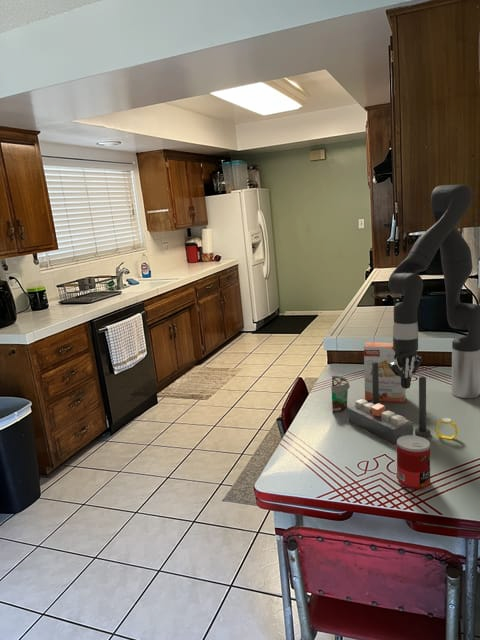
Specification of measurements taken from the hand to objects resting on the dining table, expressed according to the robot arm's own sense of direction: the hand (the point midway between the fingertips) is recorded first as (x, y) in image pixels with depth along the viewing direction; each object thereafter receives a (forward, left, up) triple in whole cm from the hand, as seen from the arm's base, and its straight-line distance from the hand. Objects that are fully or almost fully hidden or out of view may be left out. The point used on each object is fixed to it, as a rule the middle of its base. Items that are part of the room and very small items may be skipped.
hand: (405, 387), depth 154 cm
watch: (0, +16, -12) cm, 19 cm away
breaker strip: (+11, 0, -11) cm, 16 cm away
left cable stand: (+3, -10, -11) cm, 16 cm away
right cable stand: (+3, +10, -11) cm, 15 cm away
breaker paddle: (+11, 0, -6) cm, 13 cm away
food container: (+9, -21, -12) cm, 26 cm away
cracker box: (-8, -17, -12) cm, 22 cm away
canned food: (+25, +27, -12) cm, 39 cm away
